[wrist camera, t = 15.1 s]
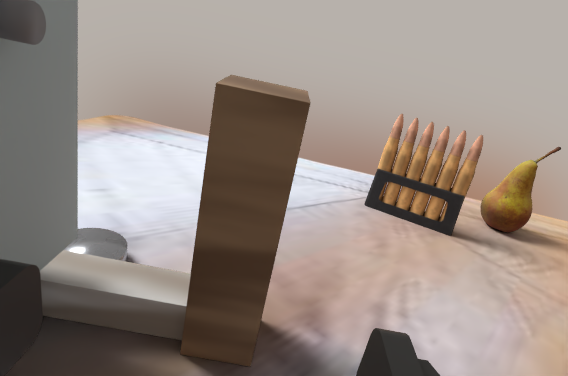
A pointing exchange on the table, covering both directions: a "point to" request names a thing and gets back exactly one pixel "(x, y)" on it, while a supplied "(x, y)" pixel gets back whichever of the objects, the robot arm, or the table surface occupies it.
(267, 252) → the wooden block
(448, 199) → the ammunition clip
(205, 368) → the table surface
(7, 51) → the cabinet
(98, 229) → the steel puck
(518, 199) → the fruit
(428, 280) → the table surface
